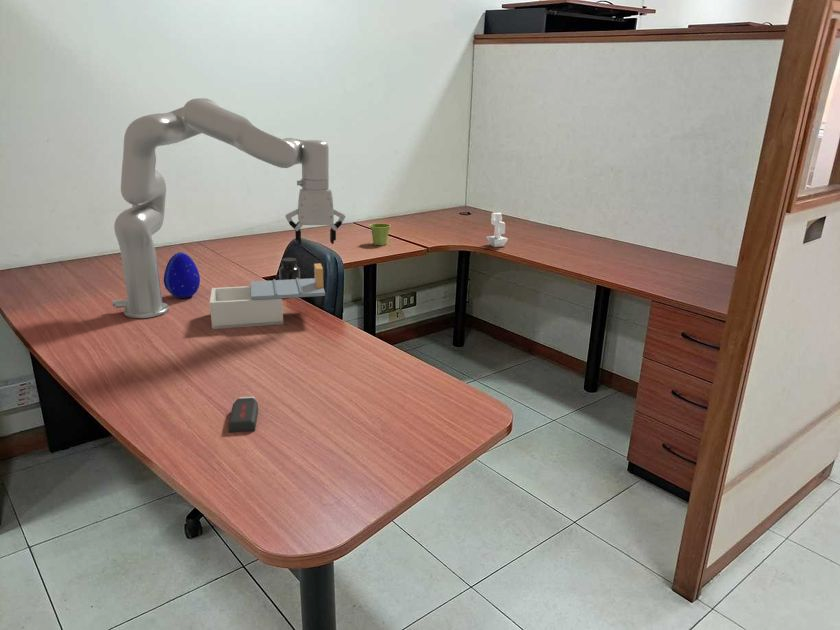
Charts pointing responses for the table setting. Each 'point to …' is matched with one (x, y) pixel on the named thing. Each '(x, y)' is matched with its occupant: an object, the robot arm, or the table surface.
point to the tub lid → (289, 287)
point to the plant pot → (380, 233)
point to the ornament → (181, 276)
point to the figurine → (497, 231)
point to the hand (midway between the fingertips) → (315, 243)
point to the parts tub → (243, 309)
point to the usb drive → (243, 415)
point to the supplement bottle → (289, 269)
